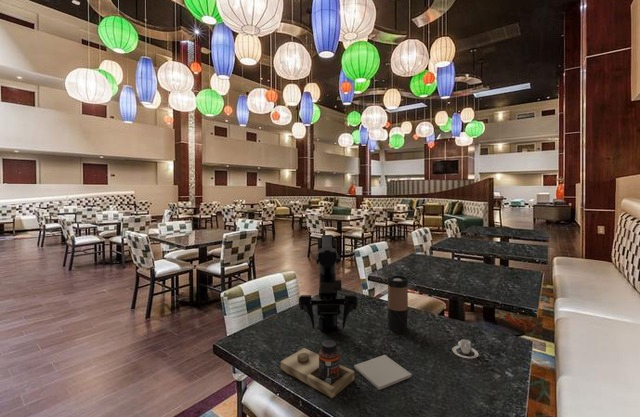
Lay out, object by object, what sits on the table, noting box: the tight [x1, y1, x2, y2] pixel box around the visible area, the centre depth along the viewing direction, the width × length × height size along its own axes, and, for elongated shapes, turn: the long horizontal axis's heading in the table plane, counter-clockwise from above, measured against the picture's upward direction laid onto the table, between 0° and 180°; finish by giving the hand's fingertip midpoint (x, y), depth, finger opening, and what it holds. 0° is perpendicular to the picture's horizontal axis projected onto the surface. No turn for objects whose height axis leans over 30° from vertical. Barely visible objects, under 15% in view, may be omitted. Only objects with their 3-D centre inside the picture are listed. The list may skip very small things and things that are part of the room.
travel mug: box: [387, 275, 409, 334], centre depth 120 cm, size 8×8×20 cm
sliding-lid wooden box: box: [280, 347, 355, 399], centre depth 92 cm, size 20×10×4 cm, turn 49°
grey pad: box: [354, 354, 412, 391], centre depth 93 cm, size 12×12×1 cm
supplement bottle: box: [318, 339, 341, 385], centre depth 88 cm, size 6×6×11 cm
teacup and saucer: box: [451, 339, 480, 359], centre depth 103 cm, size 9×8×4 cm
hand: (328, 328), depth 94 cm, fingers open, 9 cm apart
